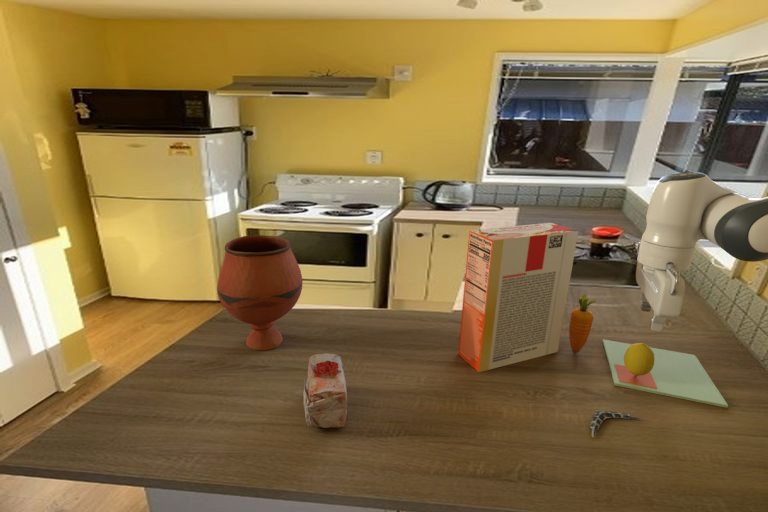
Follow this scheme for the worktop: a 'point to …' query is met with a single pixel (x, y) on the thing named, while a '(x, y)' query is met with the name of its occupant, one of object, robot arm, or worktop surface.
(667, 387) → the mat
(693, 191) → the robot arm
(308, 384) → the food item
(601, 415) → the patterned boomerang
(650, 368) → the lemon
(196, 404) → the worktop surface
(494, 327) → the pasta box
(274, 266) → the goblet
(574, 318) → the carrot
